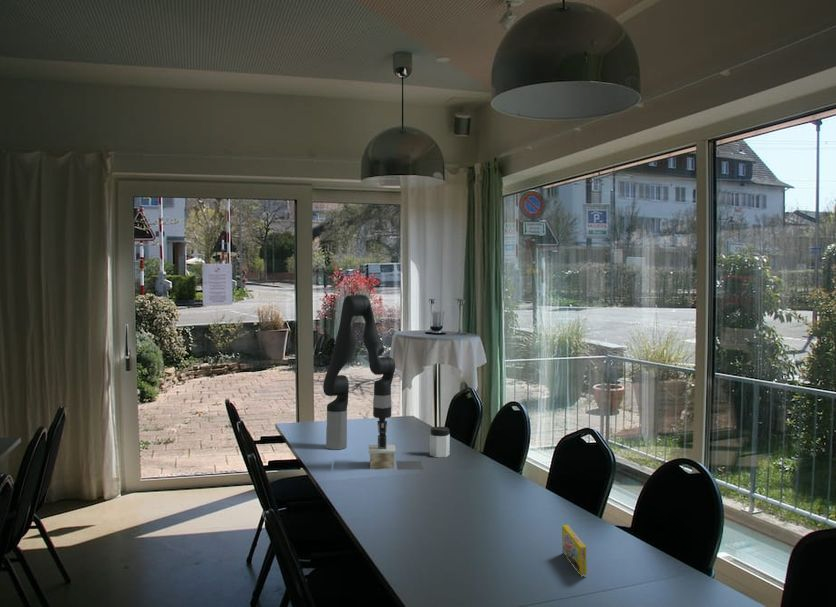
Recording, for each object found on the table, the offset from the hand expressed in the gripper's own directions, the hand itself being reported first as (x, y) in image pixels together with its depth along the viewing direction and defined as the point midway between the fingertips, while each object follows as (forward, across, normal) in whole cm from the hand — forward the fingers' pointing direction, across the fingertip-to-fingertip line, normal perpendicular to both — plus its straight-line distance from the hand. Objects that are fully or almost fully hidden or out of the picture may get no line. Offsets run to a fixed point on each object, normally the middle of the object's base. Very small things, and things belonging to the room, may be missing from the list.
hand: (382, 444), depth 287 cm
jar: (+9, -18, +26) cm, 33 cm away
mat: (+9, 0, +12) cm, 15 cm away
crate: (+9, 0, 0) cm, 9 cm away
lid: (+3, 0, 0) cm, 3 cm away
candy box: (+10, +102, +50) cm, 114 cm away
